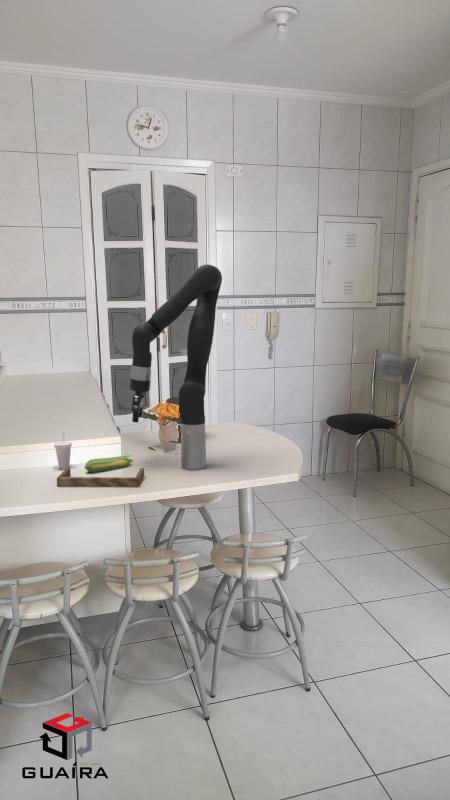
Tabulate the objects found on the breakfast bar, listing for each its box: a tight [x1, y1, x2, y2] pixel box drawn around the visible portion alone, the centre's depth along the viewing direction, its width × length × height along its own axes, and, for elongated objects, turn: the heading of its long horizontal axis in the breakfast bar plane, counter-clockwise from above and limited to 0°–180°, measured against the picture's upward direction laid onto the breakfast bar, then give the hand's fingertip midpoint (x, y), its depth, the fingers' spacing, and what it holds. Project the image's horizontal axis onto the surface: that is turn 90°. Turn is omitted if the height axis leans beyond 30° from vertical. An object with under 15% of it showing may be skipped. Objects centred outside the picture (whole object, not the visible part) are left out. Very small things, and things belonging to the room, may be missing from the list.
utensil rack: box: [56, 467, 145, 488], centre depth 196 cm, size 28×12×3 cm, turn 89°
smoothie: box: [53, 431, 73, 470], centre depth 211 cm, size 6×6×14 cm
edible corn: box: [84, 454, 134, 474], centre depth 210 cm, size 5×20×4 cm
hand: (137, 419), depth 213 cm, fingers open, 8 cm apart
